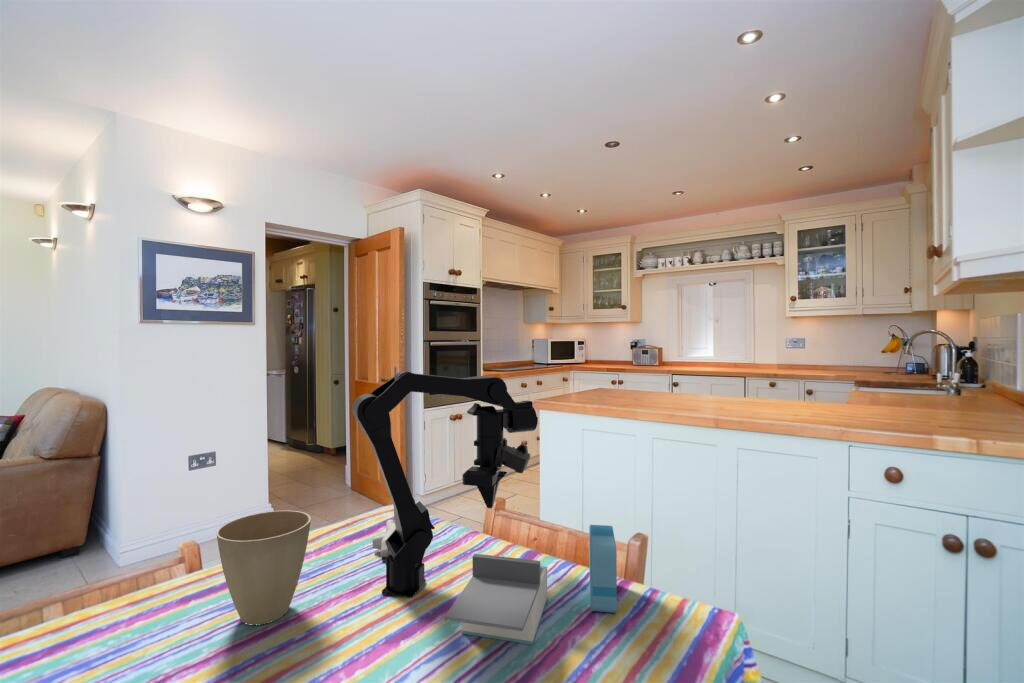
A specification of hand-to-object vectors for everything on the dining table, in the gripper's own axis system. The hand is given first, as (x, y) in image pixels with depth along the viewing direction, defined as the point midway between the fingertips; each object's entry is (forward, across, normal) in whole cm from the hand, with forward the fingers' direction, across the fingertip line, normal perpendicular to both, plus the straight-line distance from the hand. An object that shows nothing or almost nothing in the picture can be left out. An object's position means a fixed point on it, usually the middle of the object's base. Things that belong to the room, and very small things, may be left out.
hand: (490, 507), depth 101 cm
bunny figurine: (+13, +5, +25) cm, 29 cm away
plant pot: (+13, -26, +34) cm, 45 cm away
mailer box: (+13, -16, -8) cm, 22 cm away
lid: (+7, -23, -8) cm, 25 cm away
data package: (+13, -6, -24) cm, 28 cm away
